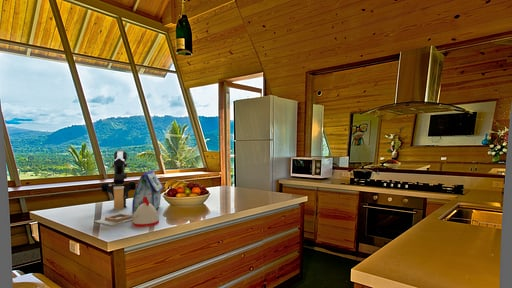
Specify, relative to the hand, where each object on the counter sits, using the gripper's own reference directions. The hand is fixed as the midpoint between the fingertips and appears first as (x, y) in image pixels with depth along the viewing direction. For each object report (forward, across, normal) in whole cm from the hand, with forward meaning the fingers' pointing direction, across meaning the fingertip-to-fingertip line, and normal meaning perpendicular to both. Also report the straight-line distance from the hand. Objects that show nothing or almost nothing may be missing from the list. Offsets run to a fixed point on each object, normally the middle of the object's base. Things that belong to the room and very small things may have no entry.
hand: (118, 198), depth 167 cm
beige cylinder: (+4, 0, +6) cm, 7 cm away
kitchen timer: (+18, +14, 0) cm, 23 cm away
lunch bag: (-4, +18, +24) cm, 30 cm away
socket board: (+8, 0, +10) cm, 13 cm away
